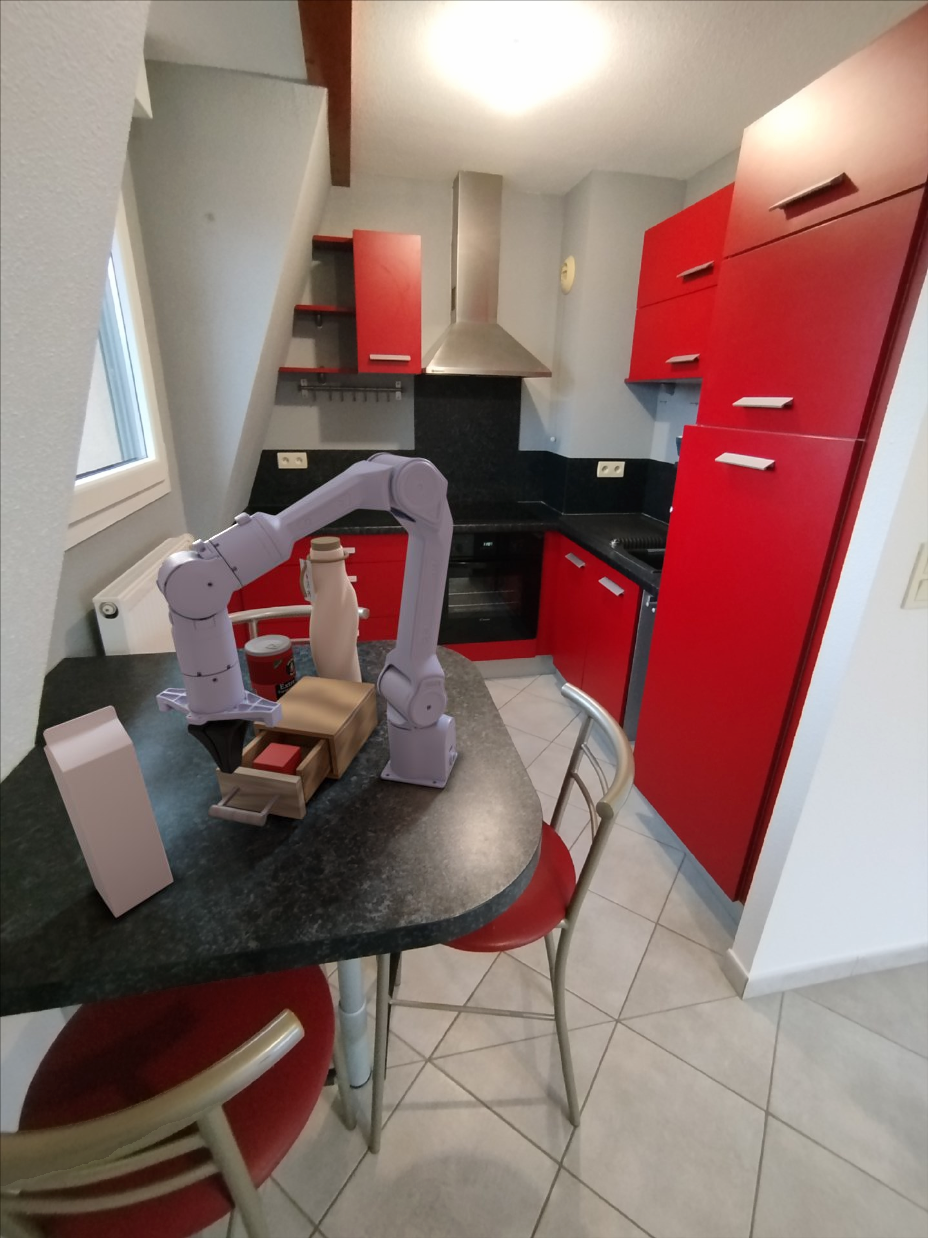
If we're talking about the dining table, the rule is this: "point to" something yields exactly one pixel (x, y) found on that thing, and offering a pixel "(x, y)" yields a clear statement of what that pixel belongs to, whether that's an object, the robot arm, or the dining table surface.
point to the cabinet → (329, 716)
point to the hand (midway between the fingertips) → (231, 768)
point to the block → (279, 759)
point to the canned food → (271, 666)
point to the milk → (108, 807)
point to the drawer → (272, 781)
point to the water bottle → (331, 610)
